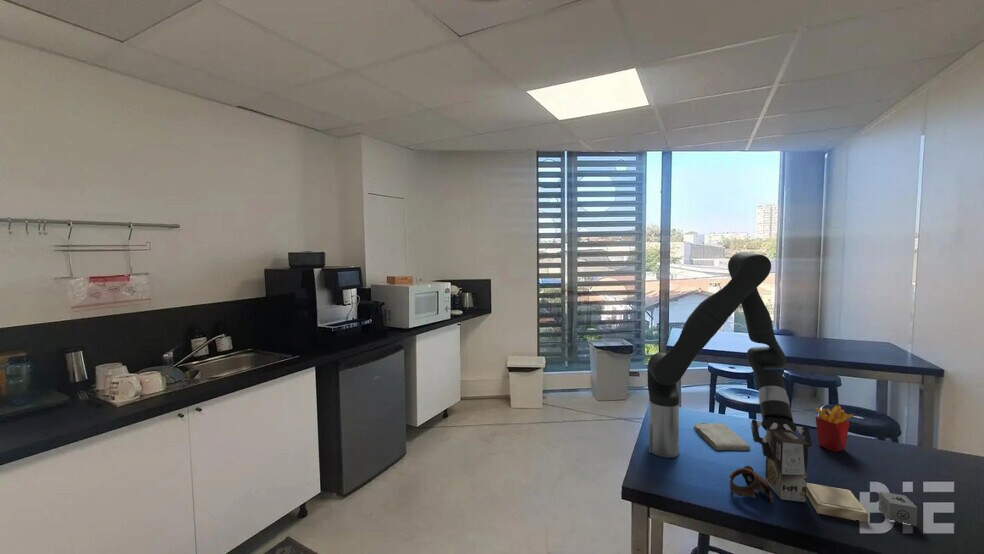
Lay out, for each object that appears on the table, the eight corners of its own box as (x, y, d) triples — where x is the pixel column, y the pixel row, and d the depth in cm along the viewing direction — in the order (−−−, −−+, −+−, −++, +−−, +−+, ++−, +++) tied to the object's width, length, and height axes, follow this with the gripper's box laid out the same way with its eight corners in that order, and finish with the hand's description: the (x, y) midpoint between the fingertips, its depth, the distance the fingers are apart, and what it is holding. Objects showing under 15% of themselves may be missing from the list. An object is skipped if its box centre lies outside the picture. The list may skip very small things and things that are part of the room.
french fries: (813, 444, 135) (814, 402, 134) (830, 441, 137) (832, 399, 136) (842, 457, 127) (844, 412, 126) (860, 453, 129) (862, 408, 128)
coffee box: (807, 502, 104) (809, 444, 103) (780, 499, 106) (782, 442, 105) (788, 483, 113) (790, 429, 112) (763, 480, 115) (765, 427, 114)
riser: (817, 513, 100) (817, 503, 100) (803, 490, 110) (804, 481, 109) (867, 522, 96) (868, 512, 96) (849, 499, 106) (849, 489, 105)
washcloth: (722, 428, 150) (722, 420, 150) (752, 452, 132) (752, 443, 132) (691, 428, 150) (691, 420, 150) (716, 452, 132) (716, 443, 132)
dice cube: (916, 527, 95) (917, 507, 94) (889, 522, 97) (890, 502, 96) (904, 514, 99) (905, 495, 99) (878, 509, 101) (879, 491, 101)
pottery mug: (780, 513, 101) (765, 487, 101) (741, 517, 106) (726, 493, 105) (769, 477, 112) (755, 454, 111) (734, 483, 117) (721, 460, 116)
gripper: (749, 396, 119) (757, 451, 109) (806, 402, 114) (821, 461, 104) (745, 406, 124) (752, 460, 114) (800, 413, 119) (813, 470, 109)
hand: (785, 460), depth 109 cm, fingers closed on coffee box, 7 cm apart
